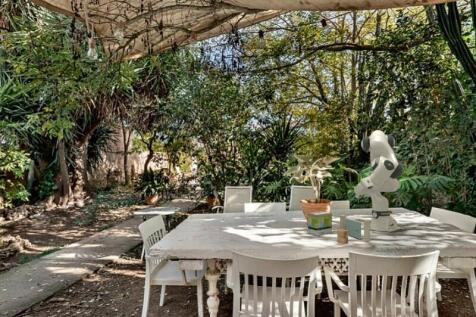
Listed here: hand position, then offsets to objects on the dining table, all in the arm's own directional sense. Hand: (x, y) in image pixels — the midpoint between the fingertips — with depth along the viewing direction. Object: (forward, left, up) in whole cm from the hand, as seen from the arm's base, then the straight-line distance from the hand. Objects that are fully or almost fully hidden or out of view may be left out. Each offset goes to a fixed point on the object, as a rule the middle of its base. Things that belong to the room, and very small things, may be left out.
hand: (362, 196), depth 232 cm
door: (-7, -16, -29) cm, 34 cm away
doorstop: (+10, -7, -29) cm, 32 cm away
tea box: (+4, -36, -30) cm, 47 cm away
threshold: (-9, -15, -29) cm, 34 cm away
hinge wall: (-9, -27, -29) cm, 41 cm away
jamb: (-9, -4, -29) cm, 31 cm away
